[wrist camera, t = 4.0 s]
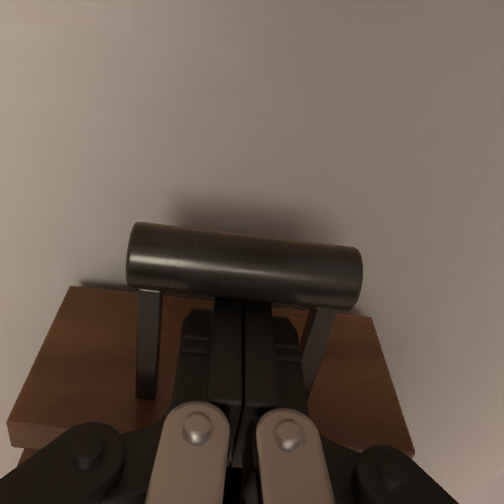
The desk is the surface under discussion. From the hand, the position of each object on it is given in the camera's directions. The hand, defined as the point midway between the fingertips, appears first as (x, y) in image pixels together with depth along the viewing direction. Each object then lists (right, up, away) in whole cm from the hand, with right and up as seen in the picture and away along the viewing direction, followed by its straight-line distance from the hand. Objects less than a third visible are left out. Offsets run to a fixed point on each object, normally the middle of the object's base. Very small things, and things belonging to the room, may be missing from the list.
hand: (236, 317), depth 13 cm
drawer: (-1, -4, +8) cm, 9 cm away
